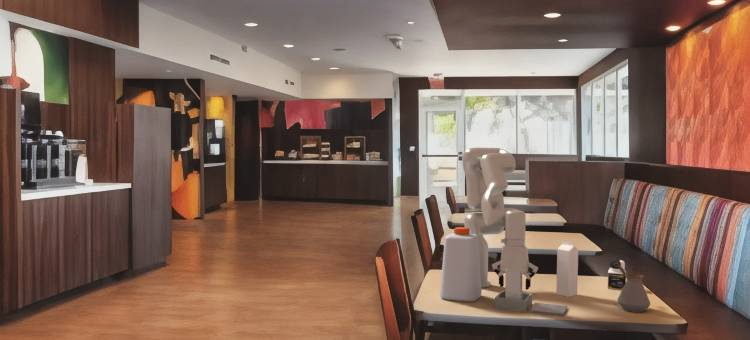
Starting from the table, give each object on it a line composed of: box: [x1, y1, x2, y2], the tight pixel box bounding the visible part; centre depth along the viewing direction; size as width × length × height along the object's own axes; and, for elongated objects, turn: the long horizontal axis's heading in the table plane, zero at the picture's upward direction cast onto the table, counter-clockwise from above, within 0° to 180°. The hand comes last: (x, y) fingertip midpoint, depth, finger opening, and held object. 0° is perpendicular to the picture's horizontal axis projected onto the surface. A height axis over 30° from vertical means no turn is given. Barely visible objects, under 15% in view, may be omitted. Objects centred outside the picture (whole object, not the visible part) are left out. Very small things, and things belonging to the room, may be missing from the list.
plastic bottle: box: [439, 226, 482, 303], centre depth 247 cm, size 15×15×28 cm
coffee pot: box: [614, 262, 651, 313], centre depth 237 cm, size 21×12×15 cm, turn 3°
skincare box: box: [504, 269, 523, 300], centre depth 234 cm, size 8×6×15 cm
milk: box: [555, 240, 579, 298], centre depth 253 cm, size 6×6×22 cm
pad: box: [528, 302, 568, 317], centre depth 229 cm, size 12×12×1 cm
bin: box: [494, 289, 533, 313], centre depth 235 cm, size 12×13×4 cm
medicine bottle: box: [607, 259, 627, 291], centre depth 267 cm, size 7×7×12 cm
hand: (514, 287), depth 234 cm, fingers open, 9 cm apart
